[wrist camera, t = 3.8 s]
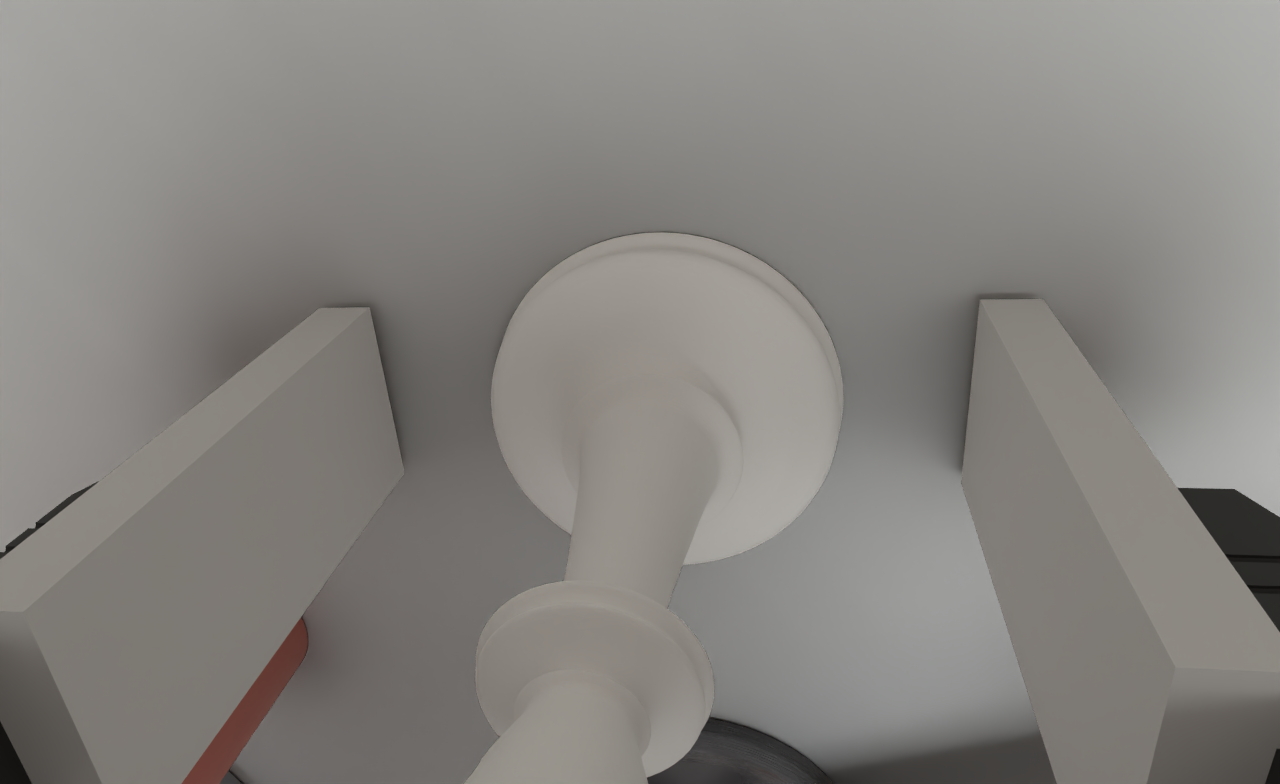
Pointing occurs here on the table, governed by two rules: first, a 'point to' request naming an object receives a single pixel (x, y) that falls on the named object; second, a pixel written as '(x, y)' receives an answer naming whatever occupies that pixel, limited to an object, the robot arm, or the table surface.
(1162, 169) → the table surface
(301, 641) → the post
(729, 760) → the crank base
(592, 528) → the chess piece
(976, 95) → the table surface
